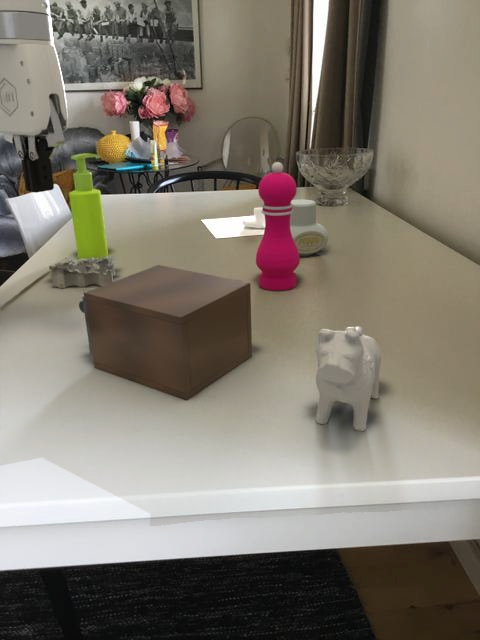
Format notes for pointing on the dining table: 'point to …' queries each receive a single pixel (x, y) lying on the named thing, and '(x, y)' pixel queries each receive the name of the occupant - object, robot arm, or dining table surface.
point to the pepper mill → (277, 232)
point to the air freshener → (306, 228)
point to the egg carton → (83, 272)
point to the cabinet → (170, 328)
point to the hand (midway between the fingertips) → (40, 190)
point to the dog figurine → (347, 372)
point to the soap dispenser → (87, 213)
